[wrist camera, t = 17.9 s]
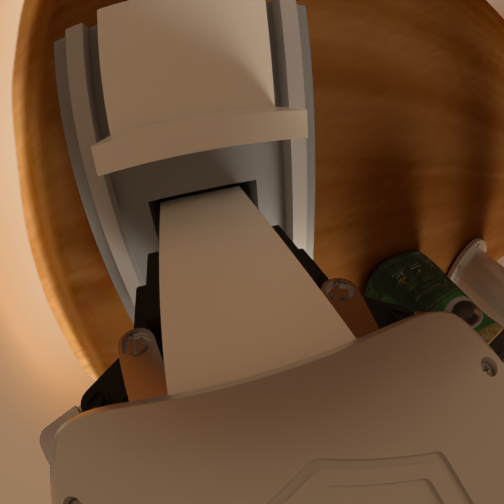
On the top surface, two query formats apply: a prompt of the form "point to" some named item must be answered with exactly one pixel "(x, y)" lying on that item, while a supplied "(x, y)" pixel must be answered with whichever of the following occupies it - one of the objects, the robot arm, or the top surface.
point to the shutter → (187, 80)
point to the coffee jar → (430, 294)
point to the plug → (234, 294)
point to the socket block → (187, 155)
